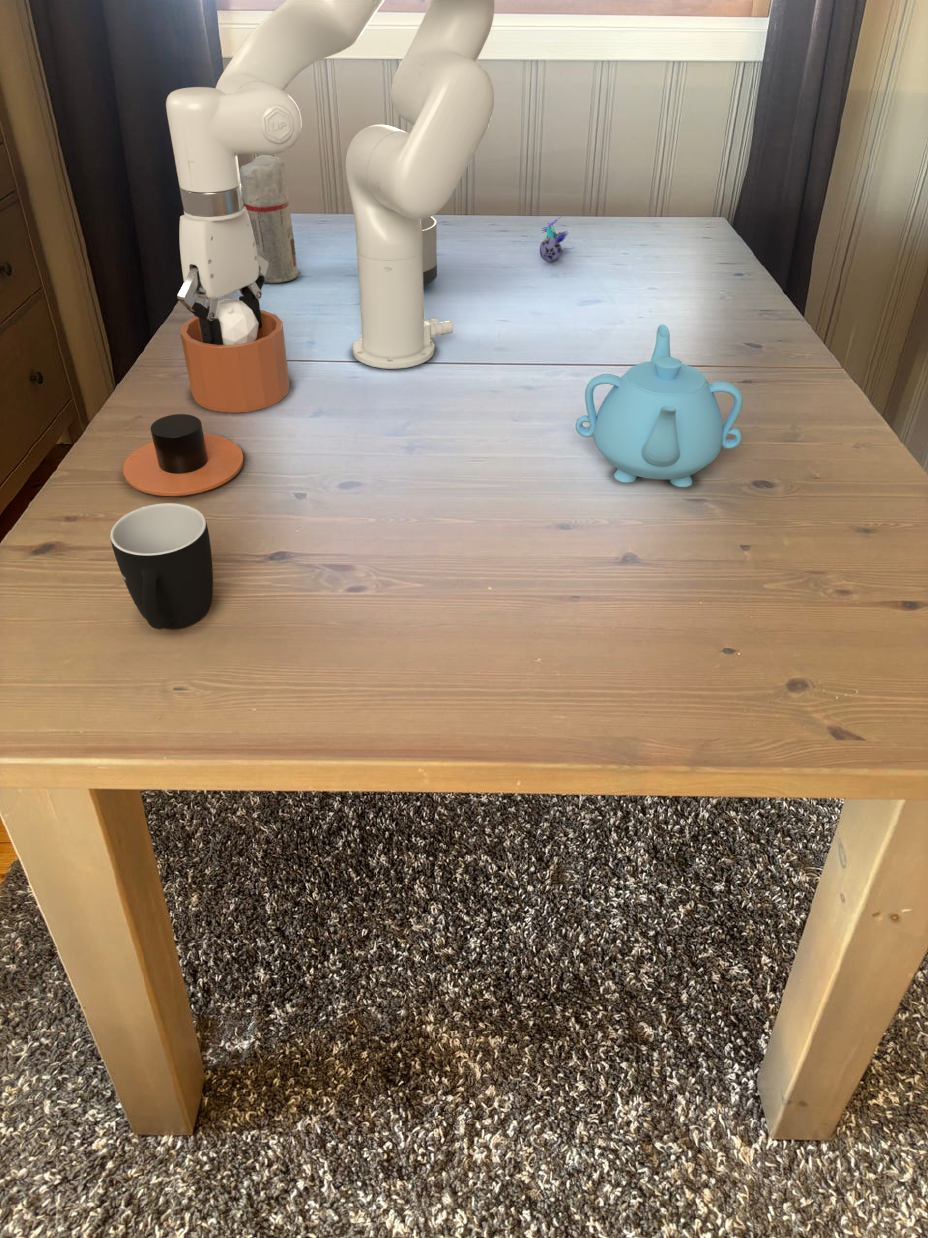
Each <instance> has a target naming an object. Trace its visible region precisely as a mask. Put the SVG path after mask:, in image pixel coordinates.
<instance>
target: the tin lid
mask: <svg viewBox="0 0 928 1238" xmlns="http://www.w3.org/2000/svg"><path fill="white" fill-rule="evenodd" d="M150 425H151V426H150V433H151V437H152V441H150V442H147V443H146V444H143V445H142V446H140V447H139V448H136V449H135V450H134V451H133V452H131V453H130V454H129V455H128V456H127V457H126V459H125V461H124V463H123V466H122V474H123V478H124V480H125V481H126V483H127V484H128V485H129V486H130V487H132V488H133V489H135V490H137V491H139V492H142V493H145V494H148V495H153V496H163V497H180V496H188V495H195V494H200V493H204V492H207V491H210V490H212V489H216V488H218V487H220V486H222V485H224V484H225V483H227V482H229V481H230V480H232V479H233V478H234V477H236V476H237V474H238V473H239V472H240V471H241V469H242V468H243V464H244V454H243V452H242V450H241V448H240V446H239V445H238V444H236V443H235V442H234V441H232V440H230V439H228V438H225V437H223V436H219V435H214V434H210V433H209V434H208V433H204V429H203V425H202V421H201V419H200V418H199V417H197V416H195V415H192V414H187V413H177V414H175V413H174V414H169V415H166V416H163V417H160V418H158V419H156V420H155V421H154V422H153V423H152V424H150Z"/></svg>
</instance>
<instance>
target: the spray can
mask: <svg viewBox="0 0 928 1238" xmlns="http://www.w3.org/2000/svg"><path fill="white" fill-rule="evenodd" d="M285 168H286V167H285V163H284V161H283V159H281V158H280V157H276V156H273V155H260V154H259V155H258V156H257V157H255V158H253V160H252V162H251V161H250V162H249V163H247V164H243V165H241V167H239V173H240V181H241V183H242V184H243V186H244V191H243V192H242V195H243V203H244V206H245V207H246V209H247V212H248V215H249V218H250V222H251V225H252V229H253V233H254V238H255V243H256V248H257V254H258V255H259V256H261V257H262V258H264V259H265V260H266V261H268V263H269V265H268V269H267V272H266V275H265V276H264V278H265V281H264V283H265V284H279V283H281V284H282V283H285V282H289V281H292V280H296V279H297V278H298V277H299V271H298V263H297V255H296V247H295V246H296V245H295V239H294V229H293V222H292V215H291V208H290V207H291V206H290V199H289V193H288V188H287V187H288V183H287V177H286V169H285Z"/></svg>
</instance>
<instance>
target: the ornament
mask: <svg viewBox="0 0 928 1238" xmlns="http://www.w3.org/2000/svg"><path fill="white" fill-rule="evenodd" d="M215 318H217V319H219V321H220V327H221V334H222V340H223V345H236V344H242V343H247V342H252V341H255V340H256V338H257V332H258V325H259V323H258V321H257V319H256V317H255V315H254V313H253V311H252V310H251V309H250V308H249V307H248V306H247V305H246V304H245V303H244V302H243V301H239V299H233V298H228V297H226V298H224V299H221V300H218V304H217V309H216V315H215Z"/></svg>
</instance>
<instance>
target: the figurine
mask: <svg viewBox="0 0 928 1238" xmlns="http://www.w3.org/2000/svg"><path fill="white" fill-rule="evenodd" d="M561 217H562V216H560V217H558V218H556V219H554V220H553V221H551V222H547V223H546V226H544V227H543V228H541V232H542V234H543V233H546V238H544V239H543V240H542V241H541V242H540V246H539V254H540V257H541V258H542V259H543V260H544V261H545V262H546V263H548V264H550V263H554V262H555V261H557V260H559V259H560V257H562V254H563V251H567V250H572V249H573V247H565V248H562V246H561V244H560V243H562V242H563V241H565V240H566V238H567V237H568V235H569V233H570V232H568V231H569V230H568V229H567V230H565V231H564V230H563V231H559V232H558V233H557V232H556V230H555V226H554V224H556V222H558V220H560V219H561Z"/></svg>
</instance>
